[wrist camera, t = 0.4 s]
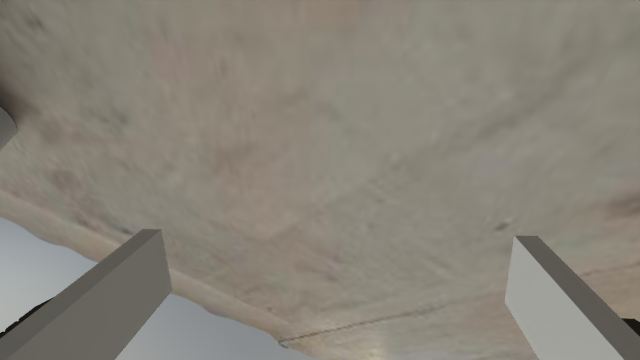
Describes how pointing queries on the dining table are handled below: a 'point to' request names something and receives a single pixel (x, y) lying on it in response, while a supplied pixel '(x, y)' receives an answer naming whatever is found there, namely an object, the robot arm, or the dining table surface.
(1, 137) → the coffee cup
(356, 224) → the dining table surface
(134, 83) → the dining table surface
